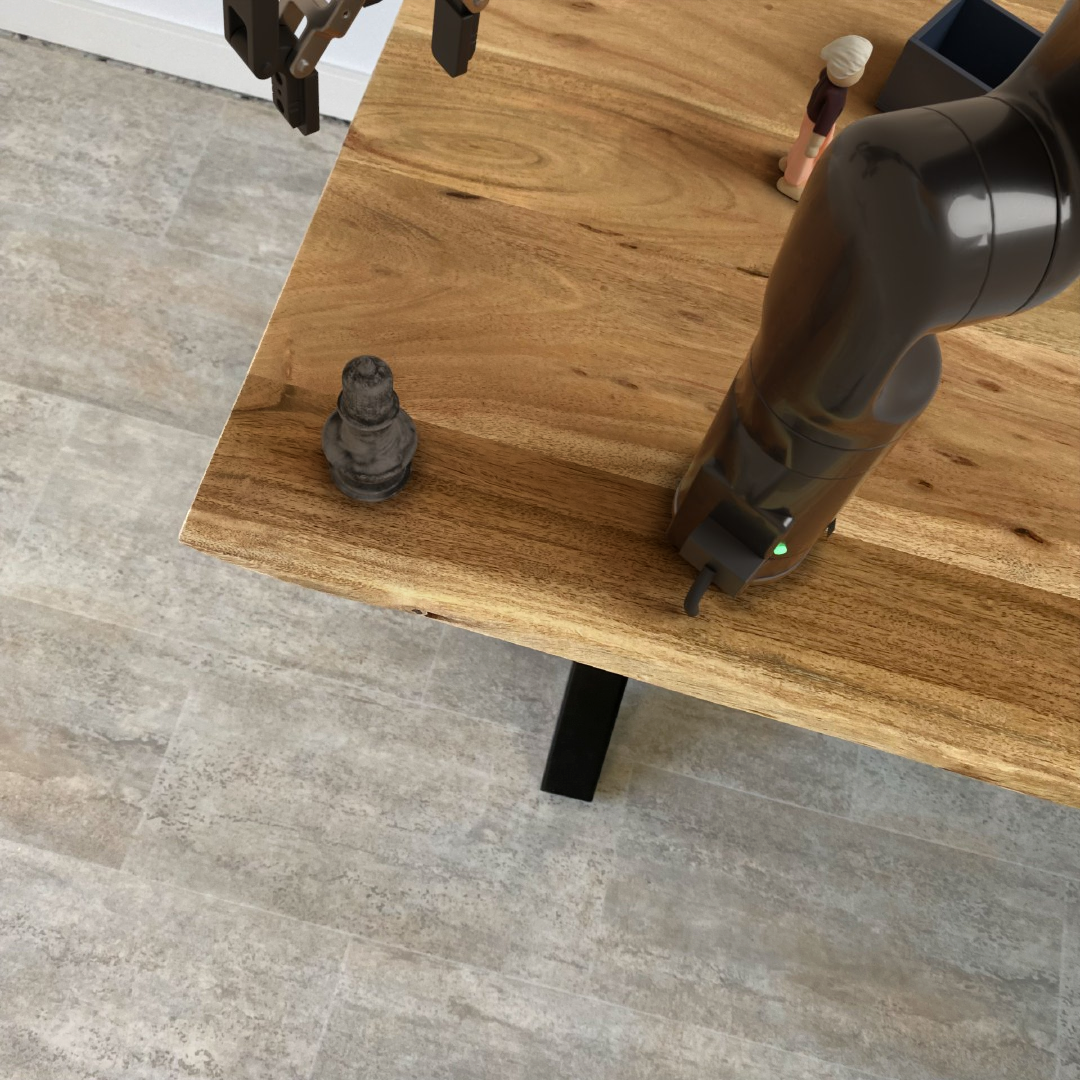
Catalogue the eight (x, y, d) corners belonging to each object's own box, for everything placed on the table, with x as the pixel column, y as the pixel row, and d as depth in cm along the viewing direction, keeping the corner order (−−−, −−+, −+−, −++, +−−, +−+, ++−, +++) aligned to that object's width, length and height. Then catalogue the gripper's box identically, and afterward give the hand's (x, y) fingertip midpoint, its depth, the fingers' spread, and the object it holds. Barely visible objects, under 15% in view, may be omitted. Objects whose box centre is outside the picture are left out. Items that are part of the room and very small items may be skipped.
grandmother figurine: (823, 213, 84) (891, 82, 72) (775, 208, 83) (836, 75, 72) (814, 140, 87) (878, 3, 76) (768, 135, 87) (825, -4, 75)
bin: (967, 169, 88) (1009, 105, 82) (874, 105, 90) (908, 38, 84) (1022, 112, 91) (1066, 47, 86) (931, 52, 93) (967, -16, 87)
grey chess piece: (403, 515, 68) (405, 416, 58) (312, 494, 68) (297, 389, 57) (426, 438, 71) (432, 328, 60) (339, 417, 71) (329, 303, 60)
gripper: (269, -156, 35) (291, 198, 49) (606, -249, 40) (537, 95, 55) (153, -287, 37) (207, 91, 51) (489, -359, 42) (452, 1, 57)
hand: (377, 93), depth 53 cm, fingers open, 8 cm apart
